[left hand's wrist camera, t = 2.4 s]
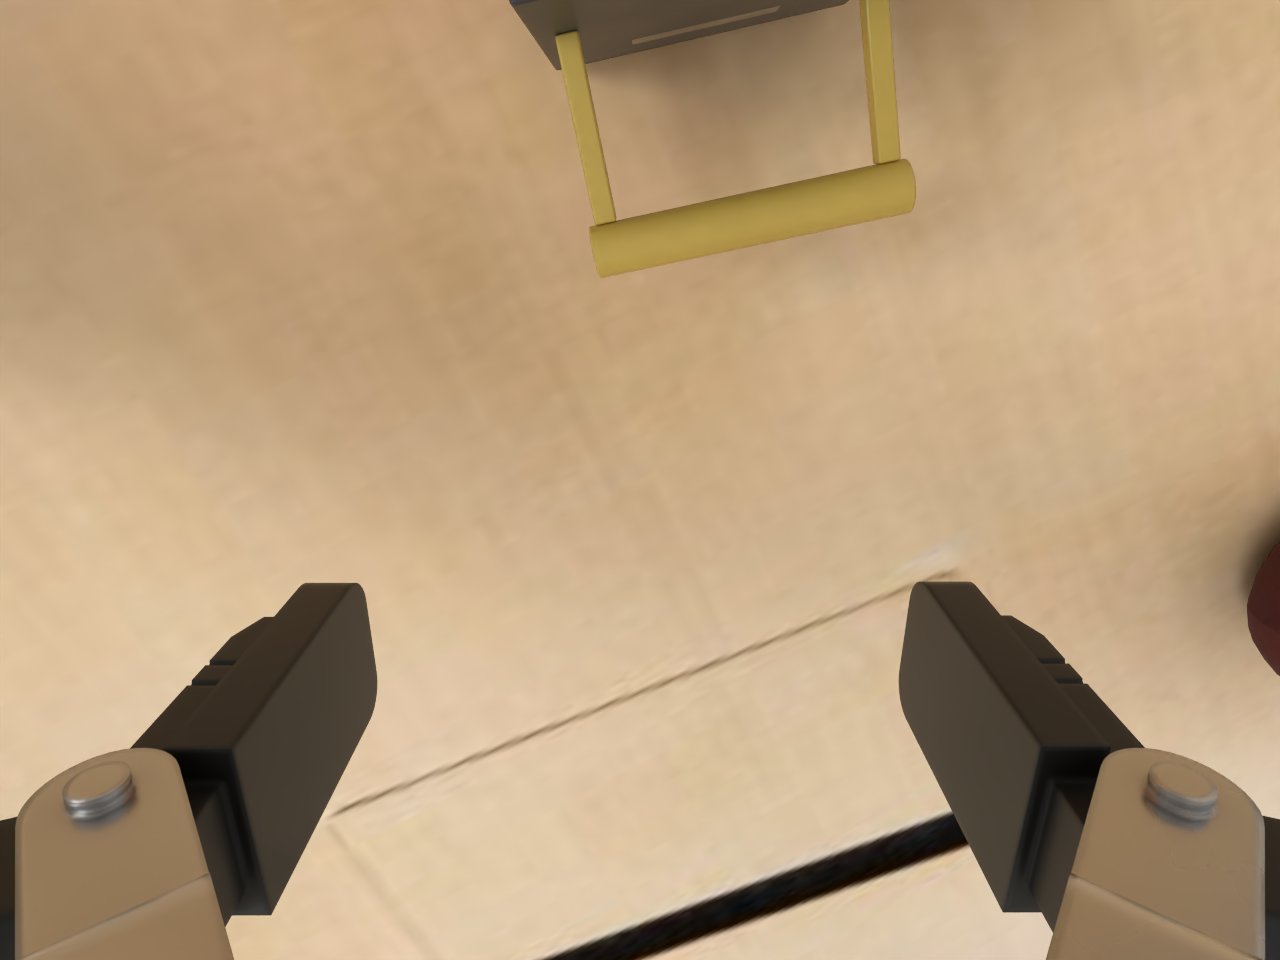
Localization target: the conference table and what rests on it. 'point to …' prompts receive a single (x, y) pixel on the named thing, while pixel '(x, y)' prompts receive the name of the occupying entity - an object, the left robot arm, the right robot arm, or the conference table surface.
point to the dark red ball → (1266, 610)
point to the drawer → (688, 9)
